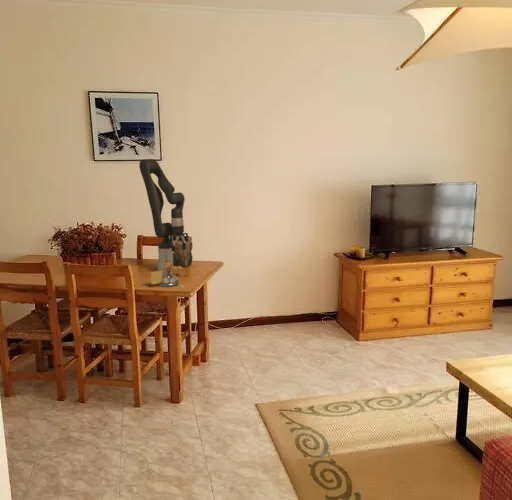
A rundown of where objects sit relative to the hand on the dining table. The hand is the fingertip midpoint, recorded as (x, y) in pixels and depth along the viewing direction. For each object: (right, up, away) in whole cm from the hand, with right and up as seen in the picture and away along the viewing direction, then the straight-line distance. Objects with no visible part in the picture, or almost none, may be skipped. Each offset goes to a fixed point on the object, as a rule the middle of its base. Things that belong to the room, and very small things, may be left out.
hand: (178, 250), depth 310 cm
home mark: (+4, -21, -18) cm, 28 cm away
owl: (-2, -11, +33) cm, 35 cm away
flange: (-4, -20, -14) cm, 25 cm away
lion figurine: (-3, -17, +5) cm, 18 cm away
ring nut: (-6, -19, -16) cm, 26 cm away
